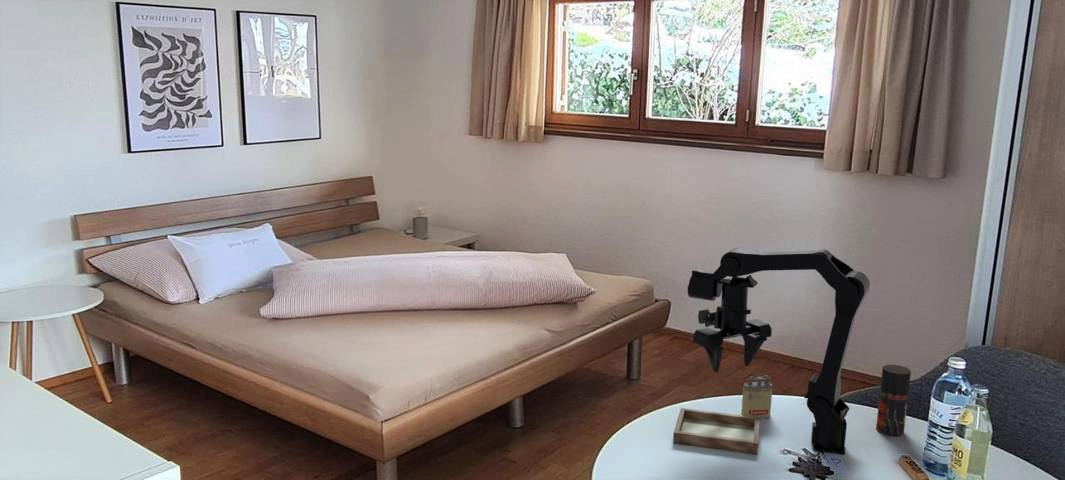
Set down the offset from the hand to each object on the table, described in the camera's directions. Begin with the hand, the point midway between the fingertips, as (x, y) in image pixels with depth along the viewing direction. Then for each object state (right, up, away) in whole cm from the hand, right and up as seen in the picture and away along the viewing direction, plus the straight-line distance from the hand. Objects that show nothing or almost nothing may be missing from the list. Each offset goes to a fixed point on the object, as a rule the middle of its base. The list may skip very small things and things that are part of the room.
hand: (731, 368), depth 195 cm
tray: (-4, -14, -4) cm, 16 cm away
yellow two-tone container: (+7, -13, +7) cm, 16 cm away
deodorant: (+36, -14, 0) cm, 39 cm away
